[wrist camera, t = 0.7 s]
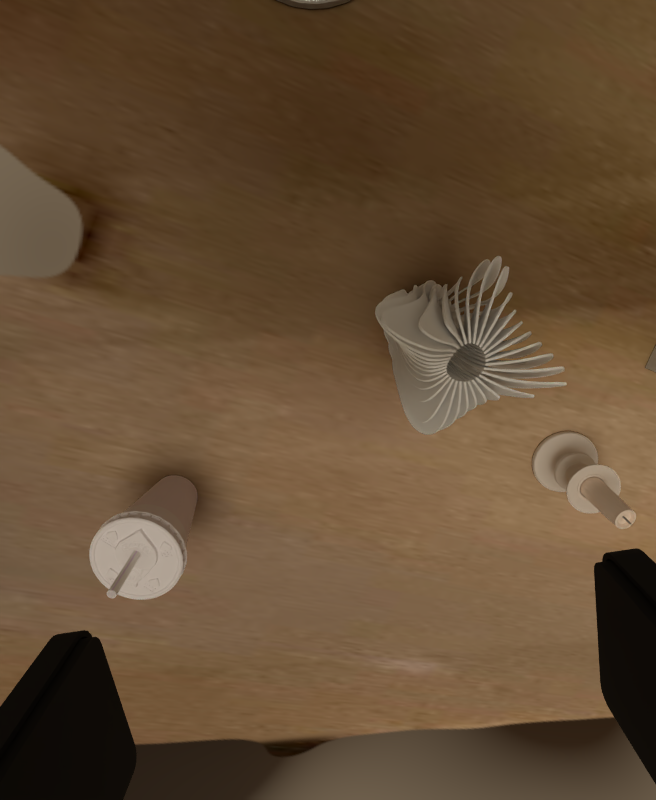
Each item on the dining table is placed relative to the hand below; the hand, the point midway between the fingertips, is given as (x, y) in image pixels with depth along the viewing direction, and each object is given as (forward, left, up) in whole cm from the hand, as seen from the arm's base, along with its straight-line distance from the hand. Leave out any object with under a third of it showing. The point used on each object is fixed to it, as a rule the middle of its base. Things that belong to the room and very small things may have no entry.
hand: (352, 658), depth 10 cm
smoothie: (+16, -9, -33) cm, 38 cm away
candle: (+4, +21, -33) cm, 39 cm away
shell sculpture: (-4, +6, -33) cm, 34 cm away
